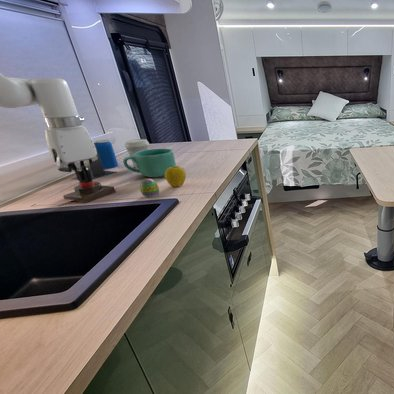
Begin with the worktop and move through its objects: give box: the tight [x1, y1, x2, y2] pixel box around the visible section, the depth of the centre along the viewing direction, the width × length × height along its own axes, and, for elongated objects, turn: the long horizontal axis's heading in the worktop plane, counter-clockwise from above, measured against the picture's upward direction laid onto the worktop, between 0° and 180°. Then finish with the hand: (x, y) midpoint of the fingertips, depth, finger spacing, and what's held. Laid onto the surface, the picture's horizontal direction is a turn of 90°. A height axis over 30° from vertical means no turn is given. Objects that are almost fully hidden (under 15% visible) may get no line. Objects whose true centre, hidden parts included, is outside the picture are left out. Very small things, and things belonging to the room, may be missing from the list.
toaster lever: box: [57, 167, 73, 173], centre depth 107 cm, size 12×5×2 cm
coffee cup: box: [124, 138, 150, 169], centre depth 123 cm, size 8×8×12 cm
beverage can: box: [92, 139, 119, 170], centre depth 123 cm, size 6×6×12 cm
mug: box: [122, 148, 177, 179], centre depth 113 cm, size 17×13×10 cm
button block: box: [62, 181, 117, 205], centre depth 94 cm, size 10×8×4 cm
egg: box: [139, 178, 160, 199], centre depth 93 cm, size 5×5×6 cm
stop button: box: [78, 179, 95, 188], centre depth 93 cm, size 4×4×2 cm
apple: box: [164, 165, 187, 187], centre depth 102 cm, size 6×6×8 cm
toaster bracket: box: [70, 145, 118, 181], centre depth 111 cm, size 11×9×13 cm
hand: (85, 181), depth 93 cm, fingers closed
